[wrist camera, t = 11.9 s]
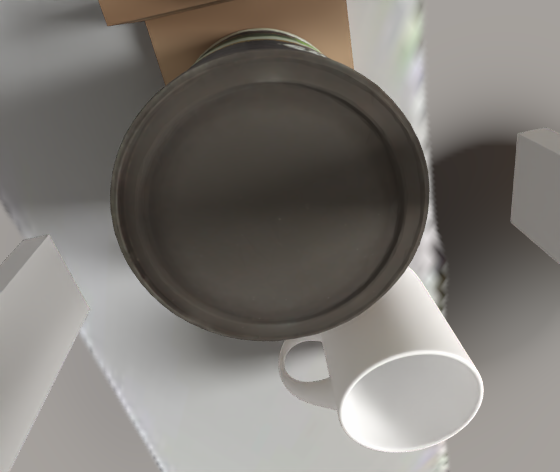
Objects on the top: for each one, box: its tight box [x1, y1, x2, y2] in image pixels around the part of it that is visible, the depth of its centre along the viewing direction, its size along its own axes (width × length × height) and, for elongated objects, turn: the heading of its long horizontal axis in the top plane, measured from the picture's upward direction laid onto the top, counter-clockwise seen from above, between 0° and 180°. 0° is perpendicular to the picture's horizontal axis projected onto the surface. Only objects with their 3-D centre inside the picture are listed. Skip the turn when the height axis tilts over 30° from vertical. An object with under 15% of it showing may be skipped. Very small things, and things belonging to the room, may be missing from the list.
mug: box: [279, 267, 483, 453], centre depth 30 cm, size 9×12×11 cm
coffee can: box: [110, 28, 429, 341], centre depth 20 cm, size 10×10×14 cm
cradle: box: [98, 0, 354, 86], centre depth 23 cm, size 16×11×10 cm
